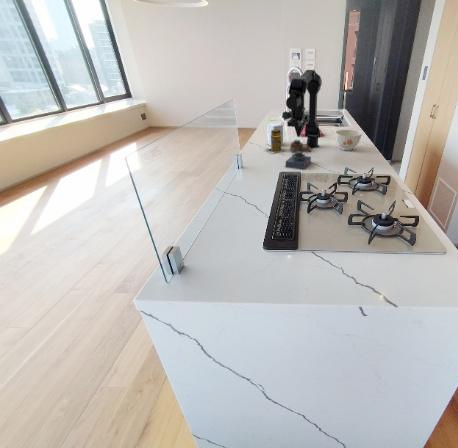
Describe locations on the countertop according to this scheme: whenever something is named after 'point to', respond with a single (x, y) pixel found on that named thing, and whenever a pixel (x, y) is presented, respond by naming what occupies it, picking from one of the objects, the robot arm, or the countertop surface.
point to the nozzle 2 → (298, 153)
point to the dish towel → (304, 132)
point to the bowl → (348, 138)
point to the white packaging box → (274, 127)
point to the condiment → (275, 141)
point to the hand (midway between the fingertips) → (298, 136)
